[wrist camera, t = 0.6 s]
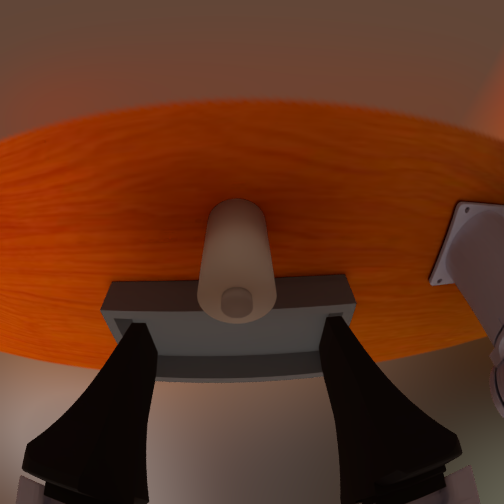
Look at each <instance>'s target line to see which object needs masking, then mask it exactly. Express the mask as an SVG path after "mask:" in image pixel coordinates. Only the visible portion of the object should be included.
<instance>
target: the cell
mask: <svg viewBox="0 0 504 504" xmlns="http://www.w3.org/2000/svg"><path fill="white" fill-rule="evenodd" d="M276 297H277V294H276V286H275V280H274V273H273V266H272V260H271V253H270V247H269V240H268V234H267V228H266V221H265V217H264V214H263V212H262V211H261V209H260V208H259V207H258V206H257V205H255V204H254V203H252V202H250V201H248V200H245V199H229V200H226V201H223V202H221V203H219V204H218V205H217V206H215V207H214V209H213V210H212V211H211V213H210V215H209V218H208V223H207V229H206V236H205V242H204V249H203V255H202V262H201V269H200V276H199V284H198V291H197V299H198V303H199V305H200V307H201V308H202V310H203V311H204V312H205V313H206V314H208V315H209V316H211V317H212V318H214V319H216V320H219V321H222V322H226V323H233V324H240V323H248V322H252V321H255V320H257V319H260V318H261V317H263V316H265V315H266V314H267V313H268V312H269V311H270V310H271V309H272V308H273V306H274V304H275V302H276Z"/></svg>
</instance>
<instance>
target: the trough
mask: <svg viewBox="0 0 504 504" xmlns="http://www.w3.org/2000/svg"><path fill="white" fill-rule="evenodd" d="M274 280H275V286H276V294H277V297H276V302H275V304H274V306H273V308H272V309H271V310H270V311H269V312H268V313H267V314H266V315H265V316H263V317H261V318H260V319H257V320H255V321H252V322H248V323H240V324H233V323H226V322H222V321H219V320H216V319H214V318H212V317H211V316H209V315H208V314H206V313H205V312H204V311H203V310H202V308H201V307H200V305H199V303H198V299H197V291H198V284H199V281H146V282H112V283H111V285H110V288H109V290H108V292H107V295H106V297H105V300H104V302H103V304H102V307H101V309H100V311H101V313H102V315H103V317H104V319H105V321H106V323H107V325H108V327H109V329H110V331H111V332H112V334H113V336H114V338H115V340H116V342H117V344H118V343H119V342H120V340H121V339H122V337H123V335H124V334H125V332H126V331H127V329H128V328H129V326H130V324H131V323H146V325H147V327H148V329H149V332H150V334H151V337H152V339H153V342H154V344H155V346H156V349H157V351H158V359H157V372H156V378H155V381H166V382H192V383H194V382H195V383H234V382H261V381H278V380H291V379H302V378H313V377H321V376H323V372H322V367H321V360H320V353H319V344H320V340H321V336H322V332H323V329H324V325H325V321H326V317H333V316H342V317H343V319H344V320H345V322H346V323H347V325H348V326H349V325H350V322H351V319H352V316H353V313H354V310H355V307H356V301H355V298H354V295H353V293H352V290H351V288H350V286H349V283H348V281H347V278H346V276H345V274H344V275H326V276H306V277H285V278H274Z"/></svg>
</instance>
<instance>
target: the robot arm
mask: <svg viewBox="0 0 504 504" xmlns="http://www.w3.org/2000/svg"><path fill="white" fill-rule="evenodd" d="M429 283H430V284H431V285H433V286H434V285H442V284H450V283H455V284H456V286H457V287H458V289H459V290H460V292H461V293H462V295H463V296H464V298H465V299H466V301H467V302H468V304H469V305H470V307H471V309H472V310H473V312H474V313H475V315H476V317H477V318H478V320H479V321H480V323H481V325H482V326H483V328H484V330H485V332H486V333H487V335H488V337H489V339H490V340H491V342H492V344H493V346H494V350H493V351H492V352H491V354H490V358H491V360H492V362H493V364H494V366H493V368H492V370H491V373H490V391H491V396H492V399H493V402H494V405H495V407H496V409H497V410H498V412H499V413H500V415H501V416H502V417H503V418H504V205H496V204H486V203H474V202H459V203H458V204H457V206H456V209H455V212H454V215H453V218H452V221H451V224H450V227H449V230H448V233H447V236H446V239H445V241H444V244H443V247H442V249H441V252H440V255H439V257H438V260H437V262H436V265H435V267H434V269H433V272H432V274H431V277H430V279H429ZM319 353H320V360H321V367H322V372H323V376H324V380H325V383H326V387H327V391H328V395H329V399H330V403H331V406H332V410H333V414H334V419H335V425H336V432H337V441H338V451H339V464H340V487H341V488H340V490H341V495H340V499H341V504H359V503H362V504H480V500H479V495H478V491H477V487H476V483H475V479H474V475H473V471H472V468H471V465H468V466H466V467H465V468H462V469H460V470H458V471H456V472H454V473H452V474H450V475H448V476H446V477H444V475H443V472H445V471H446V467H445V464H446V463H448V462H450V461H452V460H454V459H455V458H457V457H459V456H460V455H461V454H462V449H461V446H460V443H459V440H458V437H457V435H456V434H455V433H453V432H451V431H450V430H448V429H447V428H445V427H443V426H442V425H440V424H439V423H437V422H436V421H435V420H433V419H432V418H431V417H429V416H428V415H427V414H425V413H424V412H423V411H422V410H420V409H419V408H418V407H417V406H416V405H415V404H413V403H412V402H411V401H410V400H409V399H408V398H407V397H406V396H405V395H404V394H403V393H402V392H401V391H400V390H398V388H397V387H396V386H395V385H394V384H393V383H392V382H391V381H390V380H389V379H388V378H387V377H386V375H385V374H384V373H383V372H382V371H381V370H380V368H379V367H378V366H377V365H376V363H375V362H374V361H373V360H372V358H371V357H370V356H369V354H368V353H367V352H366V350H365V349H364V348H363V346H362V345H361V344H360V342H359V341H358V339H357V338H356V337H355V335H354V334H353V332H352V331H351V329H350V328H349V326H348V325H347V323H346V322H345V320H344V319H343V317H342V316H333V317H326V321H325V325H324V329H323V332H322V336H321V340H320V344H319ZM157 359H158V351H157V349H156V346H155V344H154V342H153V339H152V337H151V334H150V332H149V329H148V327H147V325H146V323H131V324H130V326H129V328H128V329H127V331H126V332H125V334H124V335H123V337H122V339H121V340H120V342H119V343H118V345H117V346H116V348H115V350H114V351H113V353H112V354H111V356H110V357H109V359H108V360H107V362H106V363H105V365H104V366H103V367H102V369H101V370H100V372H99V373H98V374H97V376H96V377H95V379H94V380H93V381H92V383H91V384H90V385H89V386H88V388H87V389H86V390H85V392H84V393H83V394H82V395H81V396H80V397H79V398H78V400H77V401H76V402H75V403H74V404H73V405H72V406H71V407H70V408H69V409H68V410H67V411H66V413H64V414H63V415H62V416H61V417H60V418H59V419H58V420H57V421H56V422H55V423H53V424H52V425H51V426H50V427H49V428H48V429H47V430H45V431H44V432H43V433H42V434H40V435H39V436H37V437H36V438H35V439H34V440H32V441H31V442H29V443H28V444H27V446H26V450H25V455H24V460H23V465H22V469H23V471H25V472H28V473H29V474H31V475H33V476H35V477H37V478H40V479H42V480H44V481H46V483H45V486H44V485H42V484H39V483H37V482H35V481H33V480H30V479H28V478H26V477H24V476H20V479H19V485H18V492H17V499H16V504H147V503H148V502H149V496H148V486H147V470H146V438H147V423H148V416H149V411H150V405H151V399H152V394H153V389H154V384H155V378H156V372H157Z"/></svg>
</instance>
